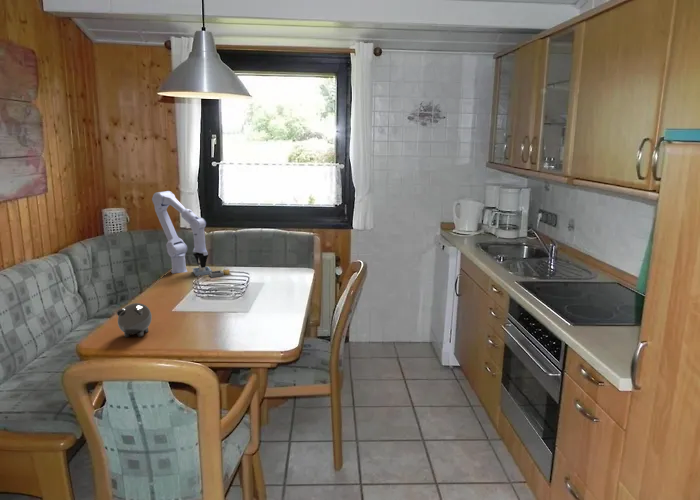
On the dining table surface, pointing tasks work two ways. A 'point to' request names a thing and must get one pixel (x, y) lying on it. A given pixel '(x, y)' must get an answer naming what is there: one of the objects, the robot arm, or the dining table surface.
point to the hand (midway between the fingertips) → (201, 266)
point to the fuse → (200, 267)
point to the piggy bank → (134, 319)
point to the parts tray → (197, 273)
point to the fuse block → (220, 273)
